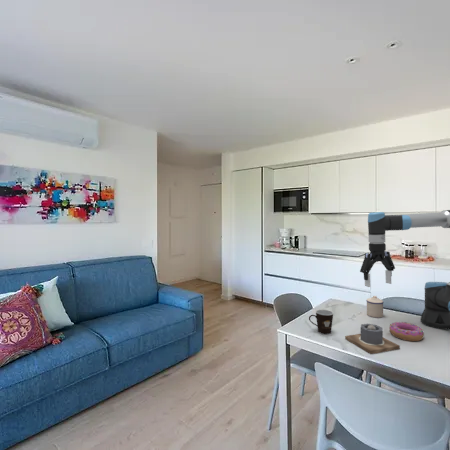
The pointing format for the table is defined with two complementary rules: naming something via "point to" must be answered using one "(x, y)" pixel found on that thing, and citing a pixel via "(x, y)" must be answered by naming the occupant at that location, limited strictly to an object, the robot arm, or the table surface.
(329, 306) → the table surface
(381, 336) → the ring
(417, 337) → the donut
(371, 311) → the teacup with lid
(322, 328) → the coffee mug
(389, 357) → the table surface
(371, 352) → the post stand
